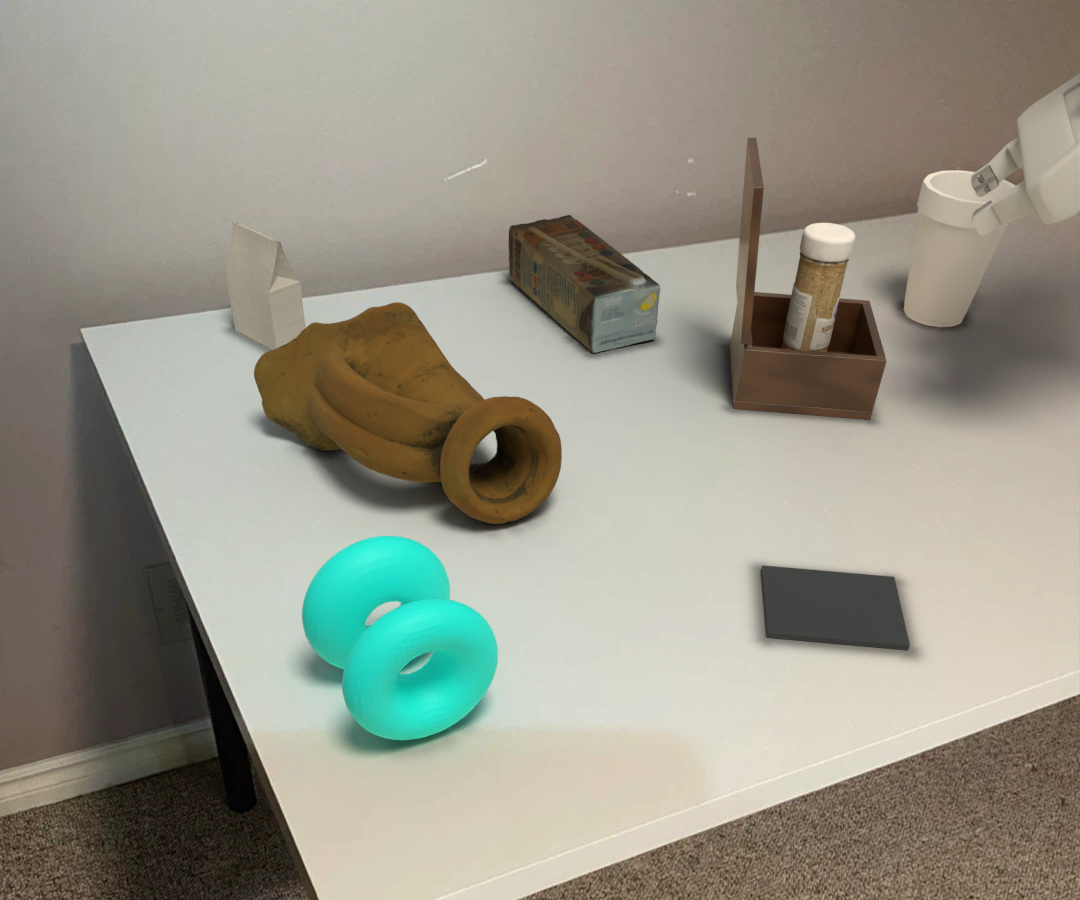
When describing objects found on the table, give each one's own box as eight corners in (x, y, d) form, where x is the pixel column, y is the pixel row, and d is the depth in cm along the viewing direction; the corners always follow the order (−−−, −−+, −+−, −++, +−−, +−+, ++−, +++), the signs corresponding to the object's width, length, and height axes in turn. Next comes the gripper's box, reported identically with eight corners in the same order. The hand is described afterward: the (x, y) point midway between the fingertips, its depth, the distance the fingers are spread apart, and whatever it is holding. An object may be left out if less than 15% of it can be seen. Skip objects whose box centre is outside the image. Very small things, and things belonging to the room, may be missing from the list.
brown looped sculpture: (466, 304, 96) (593, 371, 80) (439, 445, 102) (552, 533, 86) (264, 269, 86) (363, 337, 71) (247, 427, 92) (334, 523, 76)
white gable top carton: (277, 352, 104) (262, 248, 97) (235, 330, 107) (217, 226, 100) (307, 341, 106) (294, 237, 99) (265, 318, 109) (249, 217, 102)
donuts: (440, 629, 76) (436, 510, 69) (505, 719, 70) (507, 598, 62) (305, 671, 72) (285, 550, 65) (360, 770, 66) (345, 647, 59)
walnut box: (855, 357, 108) (869, 300, 104) (870, 419, 99) (886, 360, 95) (729, 347, 108) (739, 290, 104) (733, 409, 100) (744, 349, 95)
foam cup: (927, 288, 120) (964, 164, 111) (995, 320, 115) (1040, 192, 106) (871, 308, 116) (904, 180, 107) (939, 341, 111) (980, 210, 102)
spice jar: (825, 387, 101) (860, 241, 92) (777, 384, 102) (807, 238, 92) (818, 364, 105) (852, 221, 95) (772, 361, 105) (800, 219, 95)
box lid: (756, 137, 95) (747, 137, 95) (763, 186, 86) (753, 187, 86) (744, 285, 104) (735, 286, 104) (749, 344, 95) (740, 344, 95)
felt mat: (892, 581, 82) (894, 576, 81) (908, 650, 76) (910, 645, 76) (761, 570, 82) (762, 565, 82) (766, 637, 76) (767, 632, 76)
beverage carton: (588, 356, 106) (593, 290, 101) (504, 281, 118) (505, 219, 113) (657, 342, 109) (665, 277, 104) (568, 270, 120) (571, 209, 116)
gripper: (1116, 22, 88) (956, 137, 96) (1146, 88, 74) (955, 216, 82) (1149, 90, 90) (990, 196, 99) (1185, 166, 76) (995, 283, 84)
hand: (974, 206), depth 90 cm, fingers open, 8 cm apart
